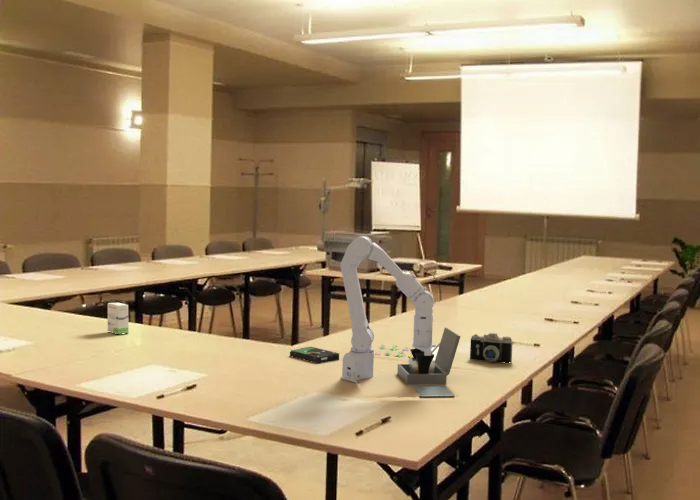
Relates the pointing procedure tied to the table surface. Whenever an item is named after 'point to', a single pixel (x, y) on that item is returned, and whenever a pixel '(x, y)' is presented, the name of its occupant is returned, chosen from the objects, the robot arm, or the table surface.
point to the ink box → (118, 318)
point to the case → (441, 362)
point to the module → (415, 367)
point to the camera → (491, 348)
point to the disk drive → (315, 354)
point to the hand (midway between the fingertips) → (421, 374)
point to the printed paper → (405, 350)
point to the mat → (433, 391)
